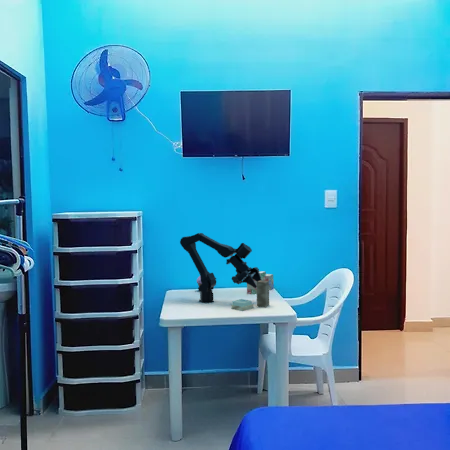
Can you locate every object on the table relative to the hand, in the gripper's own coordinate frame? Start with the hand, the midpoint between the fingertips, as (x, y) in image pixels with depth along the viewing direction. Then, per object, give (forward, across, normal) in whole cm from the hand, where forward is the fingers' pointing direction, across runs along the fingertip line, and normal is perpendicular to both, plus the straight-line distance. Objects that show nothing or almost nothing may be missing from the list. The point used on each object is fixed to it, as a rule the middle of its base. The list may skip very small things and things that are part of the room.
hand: (259, 286), depth 243 cm
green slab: (+2, +9, -10) cm, 14 cm away
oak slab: (+4, +9, -12) cm, 16 cm away
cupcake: (-26, -28, -40) cm, 55 cm away
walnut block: (+9, 0, -6) cm, 11 cm away
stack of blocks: (-2, -38, -17) cm, 42 cm away
